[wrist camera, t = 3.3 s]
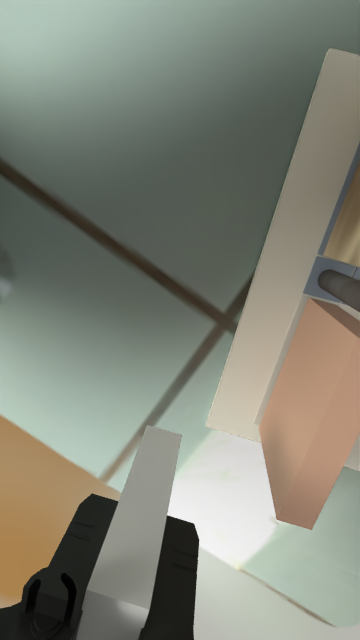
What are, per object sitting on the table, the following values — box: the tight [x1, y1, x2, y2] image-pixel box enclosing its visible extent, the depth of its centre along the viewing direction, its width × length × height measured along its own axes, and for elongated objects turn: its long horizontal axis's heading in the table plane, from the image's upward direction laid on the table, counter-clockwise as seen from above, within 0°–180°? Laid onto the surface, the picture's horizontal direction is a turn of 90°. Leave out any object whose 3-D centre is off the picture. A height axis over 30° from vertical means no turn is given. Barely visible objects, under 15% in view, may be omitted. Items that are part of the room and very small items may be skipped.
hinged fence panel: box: [259, 298, 360, 530], centre depth 17 cm, size 9×2×7 cm, turn 166°
